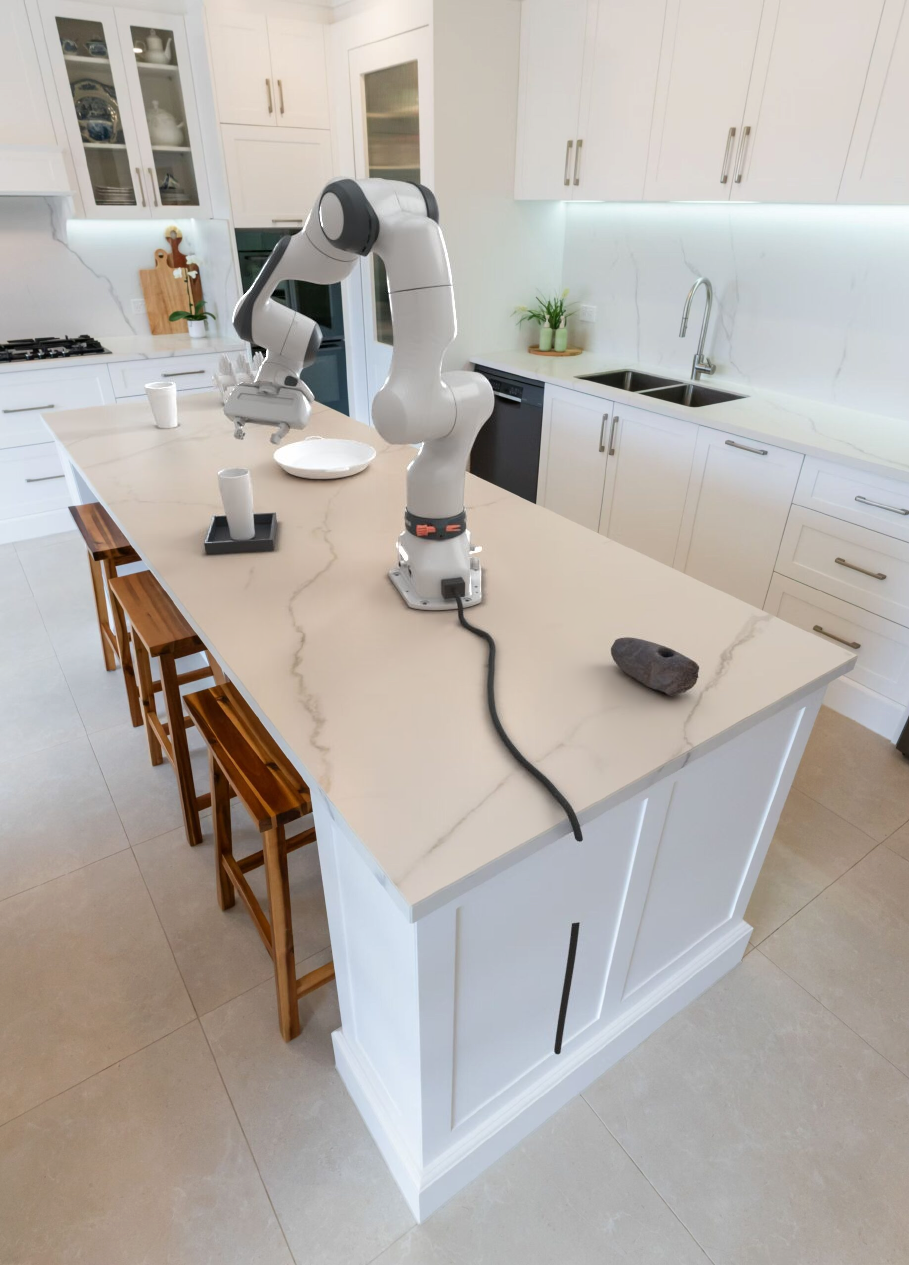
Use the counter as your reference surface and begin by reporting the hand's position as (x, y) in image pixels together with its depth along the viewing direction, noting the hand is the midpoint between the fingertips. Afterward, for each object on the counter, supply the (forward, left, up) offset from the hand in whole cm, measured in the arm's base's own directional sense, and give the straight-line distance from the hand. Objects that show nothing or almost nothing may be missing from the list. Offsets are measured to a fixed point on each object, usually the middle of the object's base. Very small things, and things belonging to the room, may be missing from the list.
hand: (255, 440), depth 162 cm
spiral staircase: (+120, +12, -20) cm, 122 cm away
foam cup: (+90, +37, -20) cm, 99 cm away
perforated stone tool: (-75, -63, -20) cm, 100 cm away
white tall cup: (-8, +5, -20) cm, 22 cm away
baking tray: (-8, +5, -20) cm, 22 cm away
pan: (+40, -14, -20) cm, 47 cm away
